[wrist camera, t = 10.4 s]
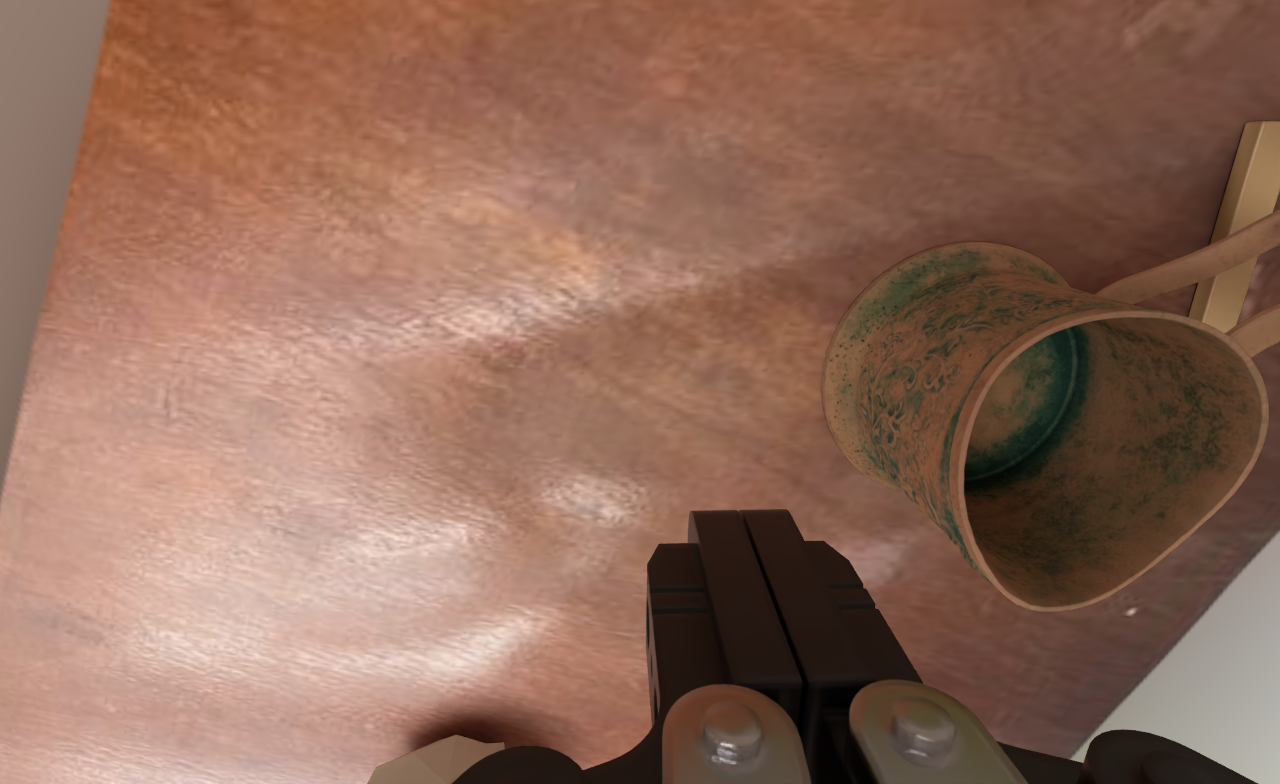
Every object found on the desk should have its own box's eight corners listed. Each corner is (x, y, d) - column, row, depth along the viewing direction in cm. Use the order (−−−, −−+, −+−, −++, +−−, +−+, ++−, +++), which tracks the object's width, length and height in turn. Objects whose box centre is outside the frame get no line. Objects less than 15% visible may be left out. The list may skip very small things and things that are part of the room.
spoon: (1210, 121, 25) (1233, 119, 24) (1316, 123, 26) (1343, 121, 25) (1113, 469, 30) (1129, 479, 29) (1202, 468, 31) (1221, 478, 30)
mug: (1250, 285, 28) (1695, 365, 16) (918, 535, 31) (1095, 746, 20) (1122, 66, 25) (1559, -21, 13) (768, 371, 28) (875, 508, 17)
